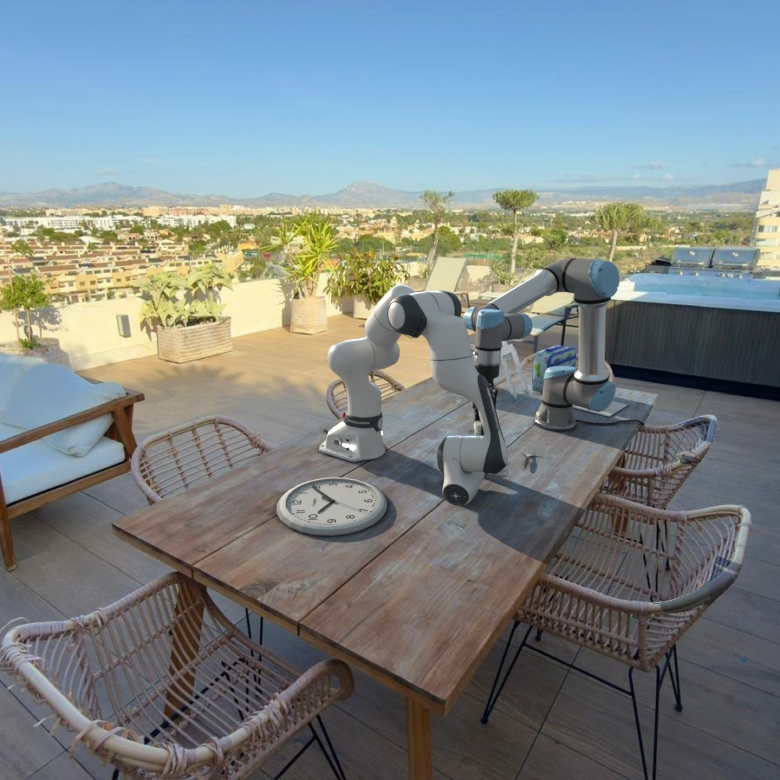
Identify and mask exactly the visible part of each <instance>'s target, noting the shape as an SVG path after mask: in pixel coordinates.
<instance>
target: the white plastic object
mask: <svg viewBox="0 0 780 780" xmlns="http://www.w3.org/2000/svg"><path fill="white" fill-rule="evenodd" d="M501 346H502V347H501V359H500V363H498V364H499V365H500V366H502V370H503V373H504V376H505V380H506V383H507V386H508V390H509V393H510V394H511V395H512V397H513V398H514V399H515V400H517V392H516V391H517V390H516V388H515V385H514V381H513V378H512V375H511V371H510V369H509V365H508V361H510V360H513V363H514V366H515V369H516V372H517V376H518V380H519V382H520V385H521V389H522V391H523V393H524V395H525V396H526V397H528V396H531V395H530V390H529V388H528V387H529V386H528V384H527V381H526V378H525V375H524V371H523V369H522V368H523V367H522V366H521V362H520V359H519V355H518V352H517V349H516V347H515V346H514V345H513V343H511V344H508V341H502V345H501ZM474 352H475V345H473V346H471V353H472V361H473V364H474V363H475V361H474V357H475V355H473V353H474Z"/></svg>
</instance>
